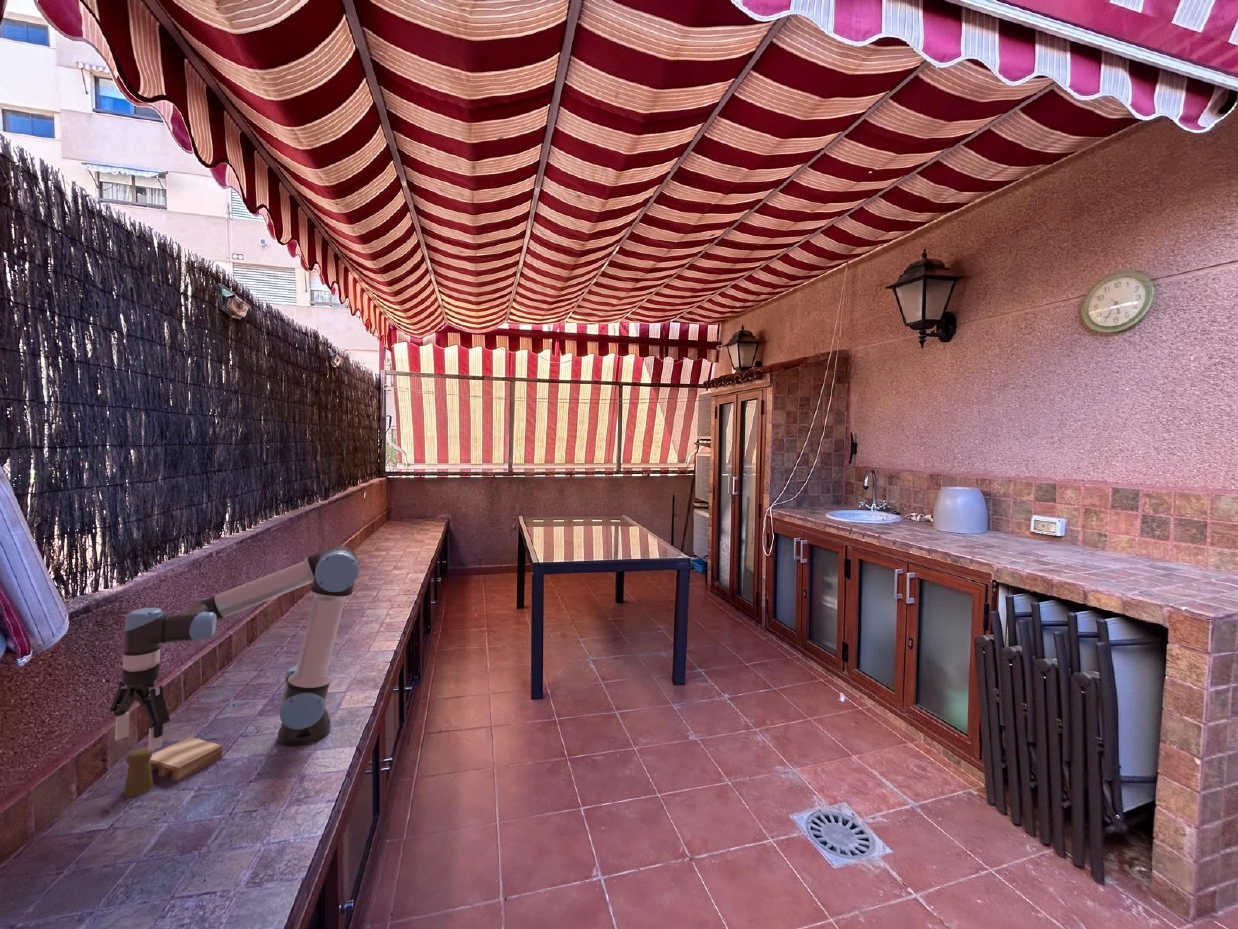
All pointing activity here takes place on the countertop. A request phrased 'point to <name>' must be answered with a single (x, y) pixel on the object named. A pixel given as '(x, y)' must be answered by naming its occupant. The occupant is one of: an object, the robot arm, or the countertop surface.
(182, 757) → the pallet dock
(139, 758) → the cork
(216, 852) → the countertop surface
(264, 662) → the countertop surface
